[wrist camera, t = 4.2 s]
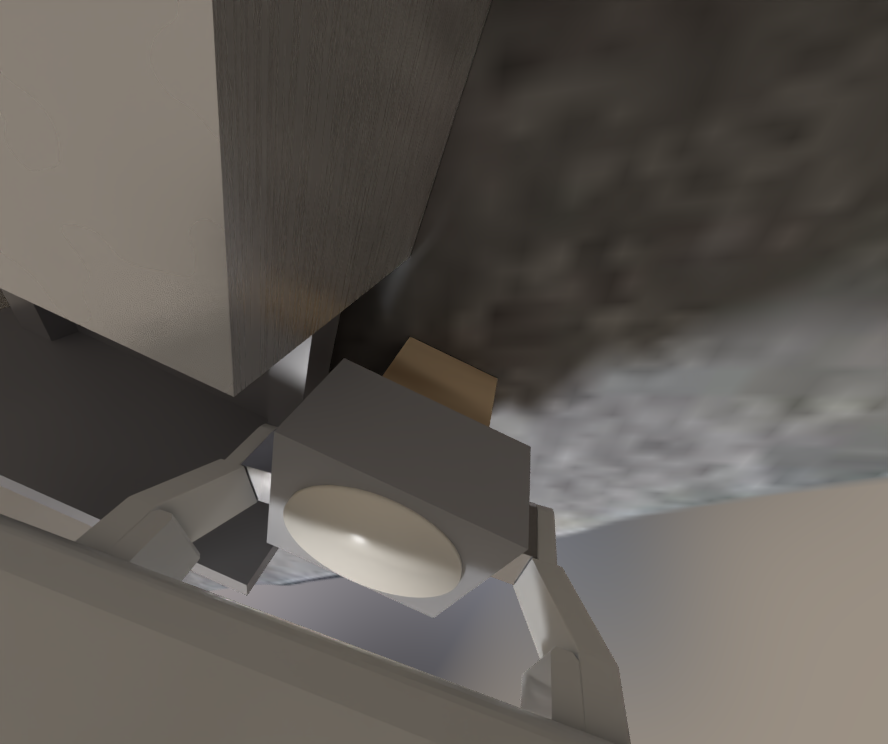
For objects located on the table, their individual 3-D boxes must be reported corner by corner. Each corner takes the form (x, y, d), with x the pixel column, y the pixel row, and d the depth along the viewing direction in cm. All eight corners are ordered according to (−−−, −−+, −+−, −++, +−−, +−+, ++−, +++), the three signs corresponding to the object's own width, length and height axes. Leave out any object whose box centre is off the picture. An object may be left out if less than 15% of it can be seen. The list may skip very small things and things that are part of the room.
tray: (347, 449, 18) (247, 603, 12) (80, 325, 17) (-170, 418, 11) (444, 142, 9) (226, 108, 3) (-107, -136, 8) (-1938, -966, 2)
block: (459, 436, 15) (439, 509, 12) (385, 401, 15) (345, 466, 12) (497, 378, 13) (484, 451, 10) (410, 336, 13) (367, 396, 10)
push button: (452, 531, 13) (432, 623, 10) (318, 468, 13) (263, 547, 10) (530, 447, 9) (528, 556, 7) (344, 358, 9) (268, 436, 6)
